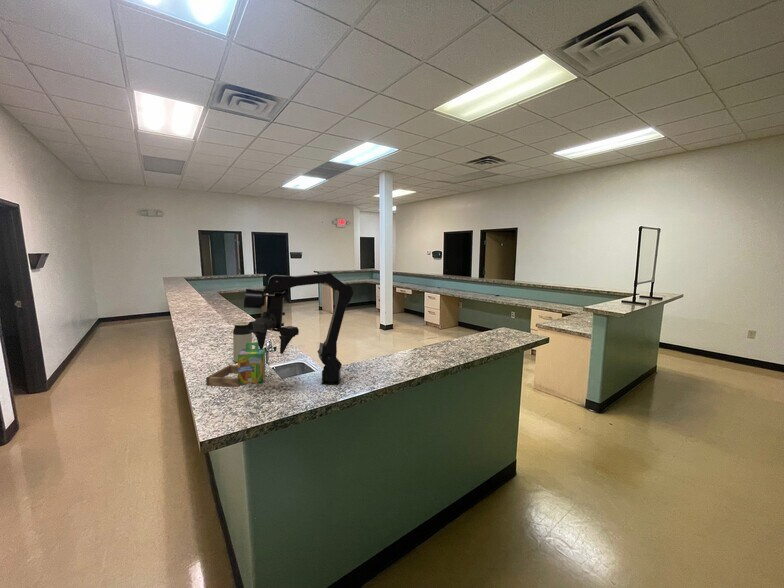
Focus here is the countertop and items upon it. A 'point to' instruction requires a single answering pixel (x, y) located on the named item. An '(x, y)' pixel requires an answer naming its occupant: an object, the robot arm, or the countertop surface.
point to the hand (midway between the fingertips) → (271, 351)
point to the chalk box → (251, 364)
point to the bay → (220, 378)
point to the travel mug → (241, 338)
